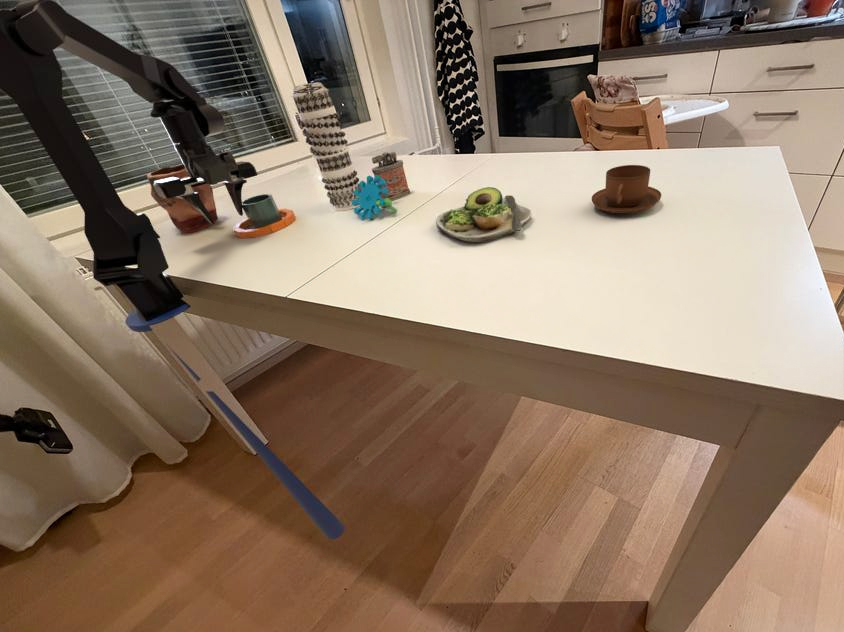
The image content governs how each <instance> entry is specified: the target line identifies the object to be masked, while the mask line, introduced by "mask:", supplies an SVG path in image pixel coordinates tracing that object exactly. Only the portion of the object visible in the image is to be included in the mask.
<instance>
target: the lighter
mask: <svg viewBox="0 0 844 632" xmlns="http://www.w3.org/2000/svg"><path fill="white" fill-rule="evenodd" d="M371 161H372V165H373V164H378V165H377V166H375V167H373V168H371V172H372V174H373V175H374V176H375V175H378V176H379V177H380V178H381V179H384V180H385V181H386V186H385V187H383V186H381V187H380V189H383V188H386V189H388V190H389V191H388V195H384V194H383V193H382V194H381V198H384V199H385V198H388V199H390V200H391V201H392V202H393V201H395V200H399V199H402V198H403V197H404V198H405V196H408V195H410V194H411V191H410V188H409V185H408V180H407V177H406V172H405V168H404V162H403V160H402V159H398V158H397V153H396V151H392V152H386V151H384V152H382V153H381V154H378V155H375V156H372V157H371ZM380 181H381V180H380ZM380 181H379V182H380ZM379 182H377V183H376V184H378V183H379Z"/></svg>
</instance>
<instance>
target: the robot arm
mask: <svg viewBox="0 0 844 632" xmlns="http://www.w3.org/2000/svg"><path fill="white" fill-rule="evenodd" d="M58 47H59V48H60V49H62V50H64V51H66V52H68V53H71V54H72V55H74V56H76V57H78V58H80V59H81V60H84V61H85V62H88V63H89V64H92V65H94V66H96V67H98V68H100V69H102V70H104V71H106V72H107V73H110V74H112V75H113V76H114V77H115V76H116V77H117V78H119V79H121V80H122V81H124V82H125V83H126V84H127V86H128V87H129V89H130V91H132V92H133V93H135V94H136V95H137V96H139V97H141V99H144V100H145V101H147V102H148V103H150V104H152V105H153V106H152V109H151V111H150V114H149V115H150V117H151V118H152V119H160V121H161V123H162V125H163V127H164V129H165V131H166V133H167V135H168V137H169V139H170V141H171V143H172V145H173V146H174V151H175V153H176V155H177V156H179V158H180V160H181V162H182V164H184V166H185V168H186V170H187V171H186V172H187V174H188V176H190V178H186V179H182V180H180V179H179V178H174V177H171V178H167V179H162V180H158V181H154V184H153V186H154V188H155V190H156V192H157V194H158V195H159V196H160V197H163V198H172V197H178V198H181V199H185V200H186V201H187V202H189V203H190V204H191V205H192V206H193V207H194V208H196V209H197V210H198V211H199V212H200V213H201V214H202V215H203V216H204V217H205V218H206V219H207V220H208V221H209V222H210V223H211V225H215V223H214V221H213V219H212V217H211V216H210V214H209V212H208V211H207V209H206V208H205V206H204V204H203V203H202V201H201V199H200V196H199V193H196V192H194V191H193V189H192V187H196V186H200V185H204V184H209V185H211V186H214V185H218V184H219V183H222V182H223V184H224V186H225V188H226V190H227V193H228V195H229V197H230V199H231V202H232V204H233V206H234V208H235V210H236V212H237V214H238V215H239V216H244V210H243V208H242V201H243V200H242V192H243V191H242V189H243V187H244V184H247V183H248V181H247V179H249V178H253V177H257V176H258V175H259V174H258V172H257V169H256V167H255V165H254V164H253V163H251V162H250V161H236V159H235V157H234V155H233V153H232V152H230V151H225V152H224V151H223V152H220V153H219V155H216V153H215V152H214V150H213V148H212V147H211V145H210V144H208V142H207V140H206V138H208V137H211V136H215V135H220V134H221V133H223V131H224V130H225V119H224V116H223V114H222V113H220V111H219V110H218V109H217V107H215V106H214V105H212V104H209V103H207V100H206V98H205V97H204V96H201V95H200V94H199V93H198V92H197V91H196V89H195V88H194V87H193V86H192V85H191V83H189V81H188V80H187V79H186V78H185V77H184V76H183V75H182V73H180V71H179V70H178V69H177V68H176V67H175V66H173V65H172V63H170V62H168V61H165V60H163V59H160V58H159V57H156V56H151V55H146V54H141V53H137V52H135V51H134V50H131V49H129V48H127V47H126V46H124V45H122V44H121V43H119V42H118V41H116V40H114V39H112V38H110V37H109V36H108V35H106V34H104V33H102V32H101V31H99V30H97V29H96V28H94V27H92V26H90V25H89V24H87V23H85V22H84V21H82V20H81V19H79V18H77V17H76V16H74V15H73V14H71V13H69V12H67V11H66V9H64V8H63V7H62V6H61V5H60V4H59V3H58V2H57V1H54V0H27V1H23V2H22V1H21V2H19V3H17V4H16V5H15V7H12V8H11V9H0V91H1V92H2V93H4V94H5V95H6V96H8V97H9V98H10V99H12V100H13V101H14V103H16V105H17V107H18V108H19V110H20V112H21V113H22V115H23V116H24V118H25V120H26V122H27V123H28V125H29V126H30V128H31V129H32V131H33V133H34V134H35V136H36V137H37V139H38V140H39V142H40V143H41V145H42V147H43V148H44V150H45V152H46V153H47V155H48V157H49V158H50V159H51V161H52V163H53V164H54V166H55V168H56V169H57V171H58V172H59V174H60V176H61V177H62V179H63V180H64V182H65V183H66V185H67V187H68V188H69V190H70V191H71V193H72V195H73V196H74V198H75V199H76V201H77V203H78V204H79V206H80V207H81V209H82V211H83V213H84V225H83V228H84V231H83V233H84V235H85V238H86V239H87V241H88V243H89V246H90V248H91V250H92V252H93V261H92V262H93V271H92V272H93V274H92V275H93V279H94V280H95V281H96V282H98V283H100V284H101V285H102V286H104V287H109V286H114V285H115V286H116V287H117V288H118V289H119V290H120V292H121V293H122V295H124V297H125V298H126V299H127V301H128V302H129V303H130V304H131V305H132V306H133V307H134V309H136V311H137V313H138V314H139V315H140V316H141V317H142V318H143V319H144V320H145V321H150V320H152V319H154V318H157V317H159V316H161V315H163V314H165V313H167V312H169V311H171V310H174V309H176V308H178V307H180V306H182V305H184V304H186V303H187V302H186V301H185V300H184V299H183V298H184V294H183V293H182V292H181V290H180V289H179V287H178V286H177V285H176V283H175V281H173V279H172V277H171V276H169V275H168V274H167V273H164V272H166V271H167V270H168V269H169V268H170V267H169V264H168V261H167V258H166V256H165V253H164V250H163V248H162V244H161V242H160V240H159V239H161V236H160V235H159V234H158V233H157V231H156V230H155V228H154V227H153V223H152V222H151V220H150V218H149V216H148V215H147V214H145V213H143V212H142V213H138V214H137V213H136V212H134V210H131V209H130V207H127V206H126V205H125V204H124V202H123V201H122V199H121V197H120V196H119V194H118V192H117V190H116V188H115V187H114V185H113V183H112V181H111V179H110V178H109V177H108V175H107V172H106V171H105V170H104V168H103V166H102V164H101V163H100V161H99V158H98V157H97V155H96V153H95V152H94V150H93V148H92V146H91V144H90V143H89V141H88V140H87V138H86V136H85V134H84V133H83V131H82V129H81V127H80V126H79V124H78V122H77V120H76V119H75V117H74V115H73V113H72V112H71V110H70V108H69V106H68V105H67V103H66V101H65V99H64V97H63V71H62V68H61V66H60V64H59V61H58V59H57V55H56V54H55V52H54V50H56V49H57V48H58ZM129 266H137V267H133V268H127V267H129Z"/></svg>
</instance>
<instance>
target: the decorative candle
mask: <svg viewBox="0 0 844 632" xmlns="http://www.w3.org/2000/svg"><path fill="white" fill-rule="evenodd" d="M329 90H330V89H329V88H326V87H325V85H323V83H321V82H320V81H315V82H310V83H304V84H300V85H297V86H295V87H293V90H292V91H293V94H292V95H291V98H292V99H293V101H294V105H295V107H296V109H297V114H298V117H299V119H298V120H297V124H298V126H300V127H301V128H303V129H302V135H303V136H304V137H306V138H305V143H306V144H308V145H309V146H310V148H309V152H310V154H312V158H313V159H315V161H316V163H317V165H318V168H319V173H320V176H321V182H322V183H323V184H324V186H323V187H324V189H325V190H326V191H327V193H326V196H327V198H328V199H329V204H331V208H332V210H333V211H336V212H337V211H339V212H340V211H342V212H343V211H349V210H353V209H354V208H359V207H360V205H357V206H354V205H352V201H353V199H355V200H357V201H359V197H358V196H356V195H354V191H355V190H356V189H357V190H359V191H360V193H361V187H360V185H359V182H360V178H359V177H357V175H358V172H357V171H356V170H355V166H354V163H353V162H352V160H351V156H350V154H349V151H350V147H349V146H347V144H348V140H347V139H345V138H344V137H345V136H346V133H345V131H342V130H341V128H342V127H343V125H344V123H343V122H342V121H340V120H339V119H340V118H341V114H340V113H338V112H337V111H336V108H335V105H334V104H333V101H332V98H331V94H330V92H329Z"/></svg>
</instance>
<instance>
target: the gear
mask: <svg viewBox="0 0 844 632" xmlns="http://www.w3.org/2000/svg"><path fill="white" fill-rule="evenodd" d="M380 180H381V181H380ZM379 181H380V182H379ZM377 182H379V183H378V184H377ZM358 184H359V185H360V187H361V193H360V191H359V190H357V189H356V190H355V191H354V195H356V196H358V197H359V201H357V200H355V199H353V201H352V205H354V206H357V205H360V206H358V207H356V208H353V213H354V215H357V216H358V217H359V218H360V219H362V220H365V219H366V218H368V219H369V220H373V219H374V214H376V215H380V214H381V213H382V209H383V210H391V211H393V212H394V213H398V209H397V208H396V207H394V206H393V205H392V204H393V201H391V200H390V199H388V198H385V199H384V198H381V194H382V193H383V194H384V195H388V191H389V190H388V189H386V188H383V189H380V187H381V186H383V187H385V186H386V181H385V180H384V179H381V178H380V177H379V176H378V175H375V176H374V177H373V176H372V175H367V176H366V181H364V180H360V181H359V182H358Z"/></svg>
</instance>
